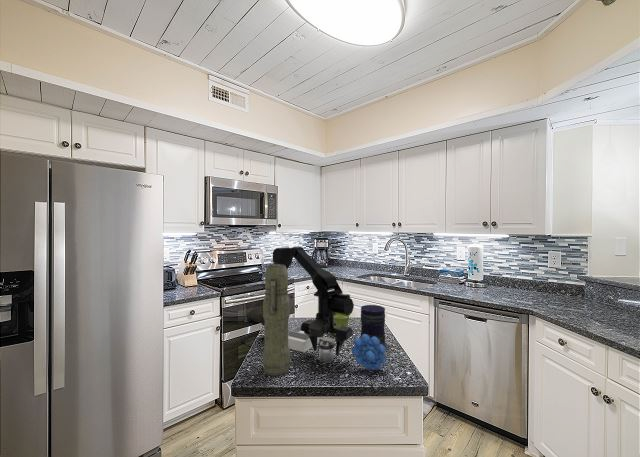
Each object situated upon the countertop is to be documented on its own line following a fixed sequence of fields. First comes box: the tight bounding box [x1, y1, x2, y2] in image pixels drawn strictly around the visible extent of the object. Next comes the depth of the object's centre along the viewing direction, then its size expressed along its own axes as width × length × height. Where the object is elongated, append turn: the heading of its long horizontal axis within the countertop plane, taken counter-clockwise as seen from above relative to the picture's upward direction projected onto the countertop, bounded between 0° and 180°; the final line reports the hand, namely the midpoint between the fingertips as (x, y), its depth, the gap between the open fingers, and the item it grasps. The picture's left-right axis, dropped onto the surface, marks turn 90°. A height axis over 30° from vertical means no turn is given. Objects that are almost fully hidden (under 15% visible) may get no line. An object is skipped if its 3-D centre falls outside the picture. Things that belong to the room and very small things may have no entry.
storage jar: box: [360, 304, 386, 346], centre depth 116 cm, size 10×10×15 cm
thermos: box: [262, 263, 291, 377], centre depth 96 cm, size 9×12×35 cm
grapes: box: [351, 334, 388, 371], centre depth 94 cm, size 12×7×12 cm, turn 87°
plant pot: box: [332, 313, 351, 336], centre depth 128 cm, size 9×9×9 cm
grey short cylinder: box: [317, 336, 335, 363], centre depth 103 cm, size 6×6×7 cm
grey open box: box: [288, 324, 322, 353], centre depth 116 cm, size 9×13×6 cm
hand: (326, 352), depth 103 cm, fingers open, 9 cm apart
